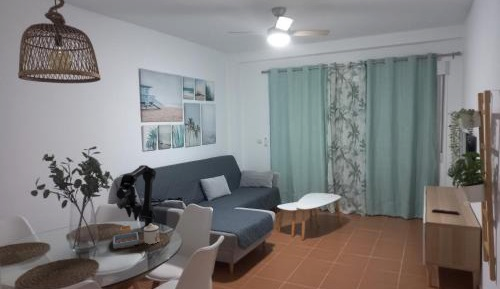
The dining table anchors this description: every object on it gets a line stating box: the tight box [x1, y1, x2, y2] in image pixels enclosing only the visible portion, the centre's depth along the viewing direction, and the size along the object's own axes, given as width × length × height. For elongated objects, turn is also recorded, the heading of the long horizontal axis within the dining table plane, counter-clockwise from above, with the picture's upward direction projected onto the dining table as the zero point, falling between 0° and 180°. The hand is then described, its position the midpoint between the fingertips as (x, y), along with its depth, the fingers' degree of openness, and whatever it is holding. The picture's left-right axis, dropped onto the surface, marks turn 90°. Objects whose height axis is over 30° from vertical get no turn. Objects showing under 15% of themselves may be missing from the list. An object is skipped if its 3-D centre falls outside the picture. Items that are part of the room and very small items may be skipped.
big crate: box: [112, 231, 140, 248], centre depth 202 cm, size 14×14×4 cm
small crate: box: [120, 224, 132, 235], centre depth 213 cm, size 6×6×6 cm
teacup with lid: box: [142, 223, 160, 244], centre depth 203 cm, size 12×9×12 cm
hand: (132, 218), depth 209 cm, fingers open, 9 cm apart
